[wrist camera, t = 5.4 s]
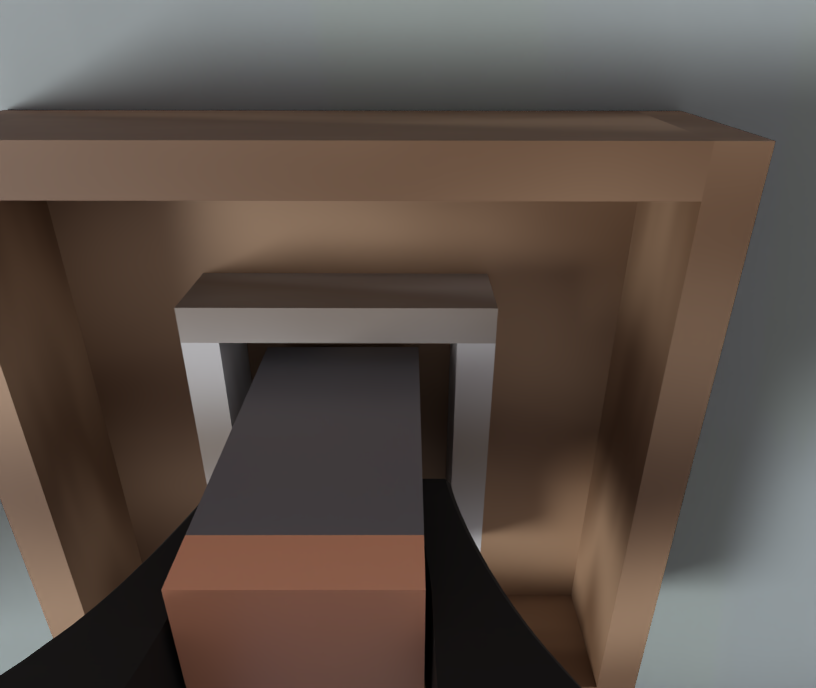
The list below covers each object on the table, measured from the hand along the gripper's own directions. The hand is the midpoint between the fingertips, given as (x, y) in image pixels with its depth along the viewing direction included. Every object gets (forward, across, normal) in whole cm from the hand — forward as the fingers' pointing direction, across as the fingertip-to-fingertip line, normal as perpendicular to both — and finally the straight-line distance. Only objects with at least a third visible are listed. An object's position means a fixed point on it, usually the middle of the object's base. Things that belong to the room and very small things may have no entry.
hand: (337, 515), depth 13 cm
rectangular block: (+3, 0, 0) cm, 3 cm away
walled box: (+5, 0, 0) cm, 5 cm away
